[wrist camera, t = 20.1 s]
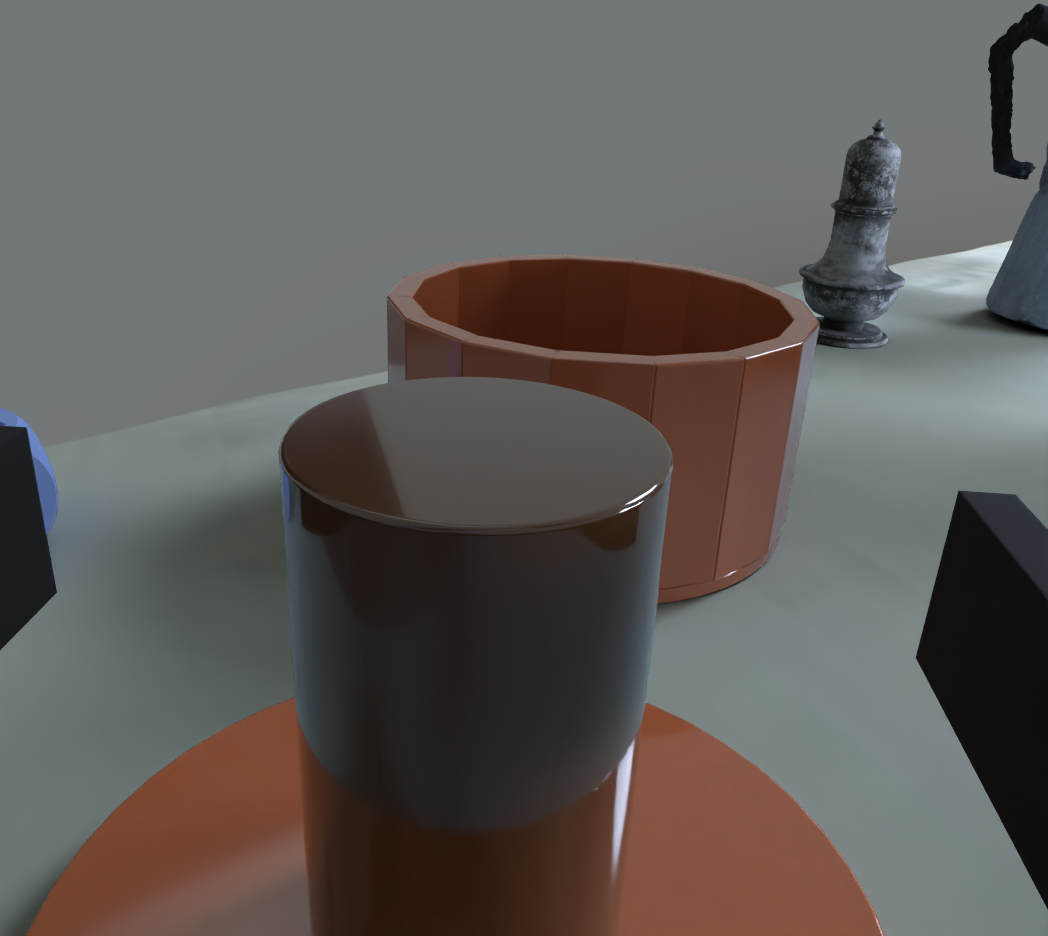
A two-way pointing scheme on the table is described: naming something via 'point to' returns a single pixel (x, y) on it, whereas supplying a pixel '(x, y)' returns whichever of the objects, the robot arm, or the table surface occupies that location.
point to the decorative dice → (38, 469)
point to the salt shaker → (857, 249)
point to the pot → (640, 378)
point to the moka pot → (1044, 234)
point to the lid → (464, 710)
